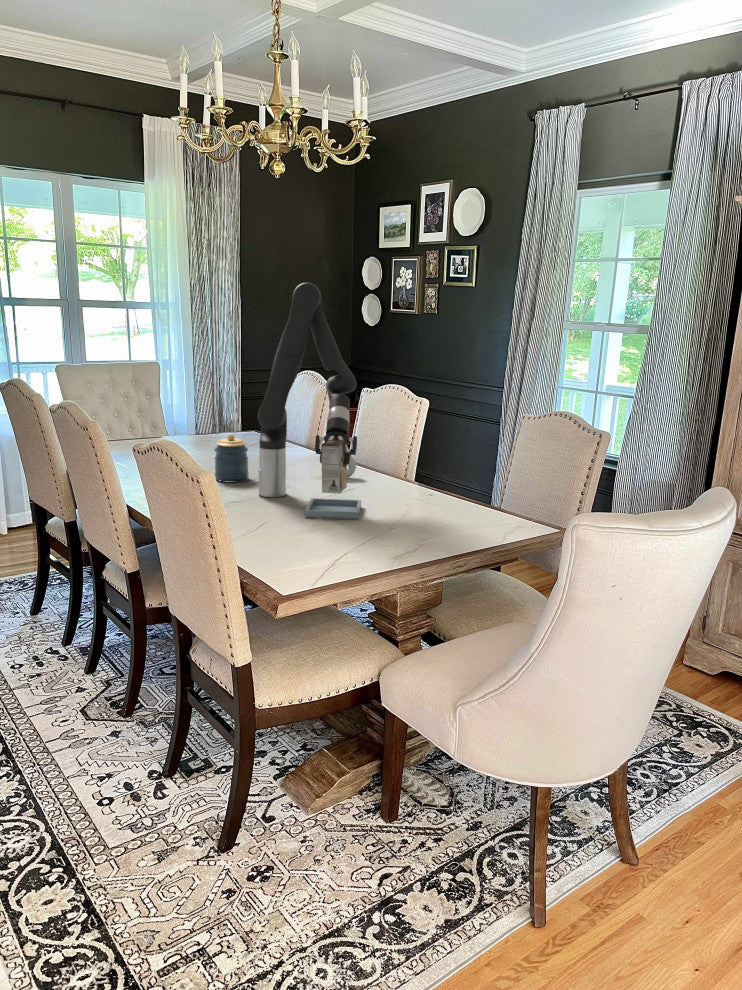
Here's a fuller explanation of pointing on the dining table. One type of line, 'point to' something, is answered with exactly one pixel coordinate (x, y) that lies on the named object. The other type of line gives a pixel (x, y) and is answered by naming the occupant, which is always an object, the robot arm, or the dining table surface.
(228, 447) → the canister
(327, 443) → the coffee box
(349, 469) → the donut
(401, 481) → the dining table surface
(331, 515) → the tray
